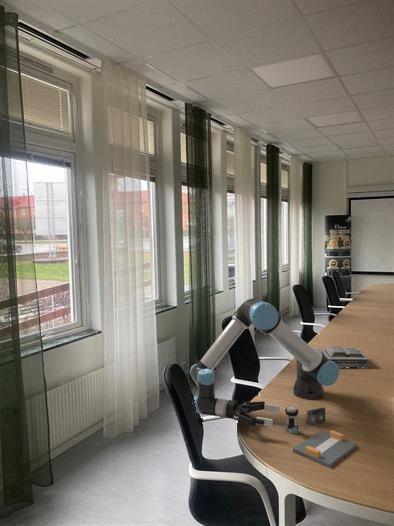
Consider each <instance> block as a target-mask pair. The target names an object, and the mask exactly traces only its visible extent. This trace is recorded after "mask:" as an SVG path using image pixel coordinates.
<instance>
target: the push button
mask: <svg viewBox="0 0 394 526" xmlns="http://www.w3.org/2000/svg"><path fill="white" fill-rule="evenodd" d="M284 412H285V415H286V424H285V432H286V433H290V434H295V435H297V434H298V433H300V434H301V433H303V432H302V429H300V428H299V425H298V424H297V417H298V415H299V410H298V409H297V408H296V406H291V405H289V406H287V408H285V409H284Z"/></svg>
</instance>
